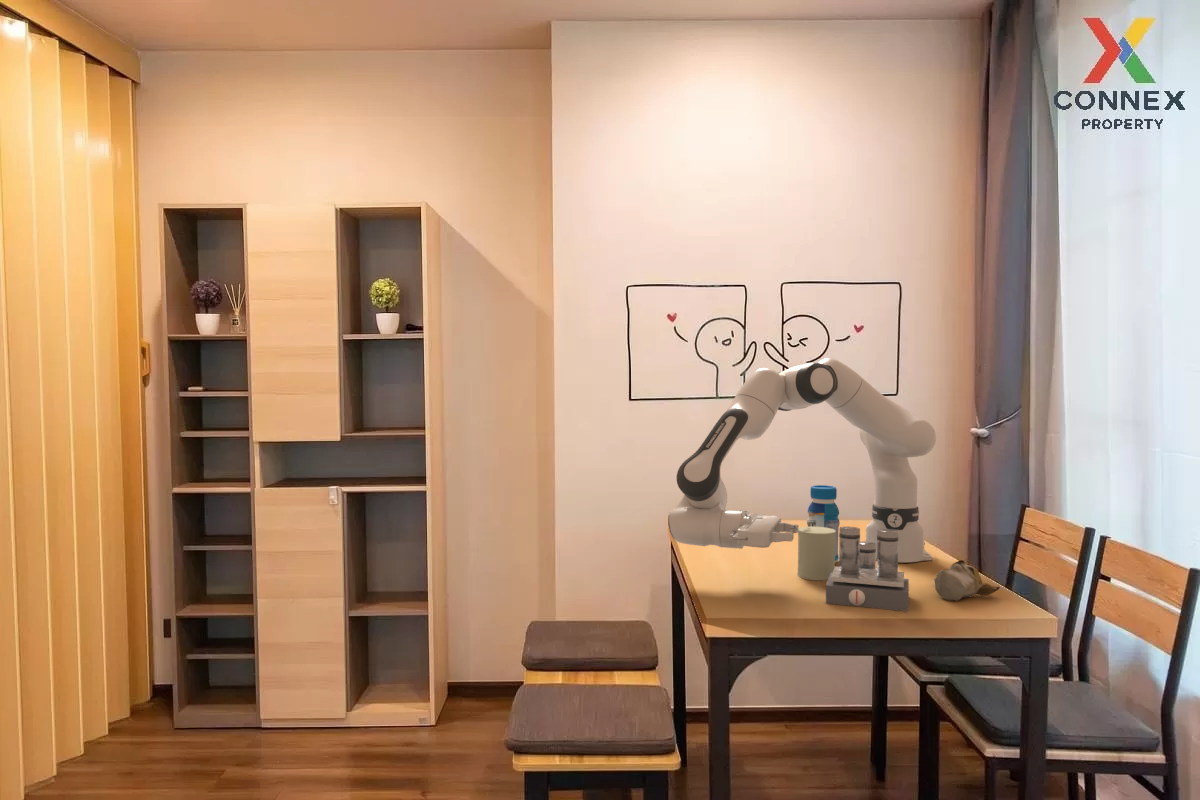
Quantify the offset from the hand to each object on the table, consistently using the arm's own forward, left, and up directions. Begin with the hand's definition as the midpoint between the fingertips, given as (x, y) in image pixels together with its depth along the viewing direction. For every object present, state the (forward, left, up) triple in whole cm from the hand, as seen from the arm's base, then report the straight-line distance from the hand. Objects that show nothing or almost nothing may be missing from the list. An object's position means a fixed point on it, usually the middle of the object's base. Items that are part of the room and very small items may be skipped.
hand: (795, 532), depth 188 cm
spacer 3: (0, +20, -8) cm, 21 cm away
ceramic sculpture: (-10, +36, -14) cm, 40 cm away
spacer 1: (0, +12, -8) cm, 14 cm away
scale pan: (0, +16, -9) cm, 18 cm away
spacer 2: (-13, +15, -14) cm, 24 cm away
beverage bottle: (-35, +3, -14) cm, 38 cm away
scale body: (0, +16, -14) cm, 21 cm away
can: (-18, +3, -14) cm, 23 cm away
